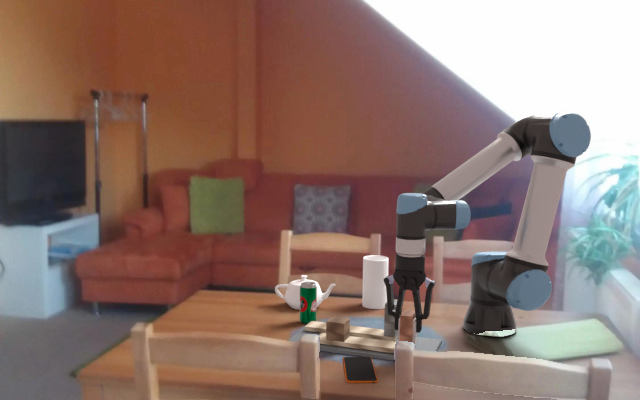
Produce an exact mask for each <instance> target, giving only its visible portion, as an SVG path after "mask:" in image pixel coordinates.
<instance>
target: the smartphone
mask: <svg viewBox="0 0 640 400" xmlns="http://www.w3.org/2000/svg"><path fill="white" fill-rule="evenodd" d="M342 361H343V369H344V371H343V372H344V378H345V381H346V383H347V384H373V383H374V384H378V383H379V380H378V375H377V373H376V369H375V366H374V365H375V364H374V361H373V358H371V357H363V356H343V357H342Z"/></svg>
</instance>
